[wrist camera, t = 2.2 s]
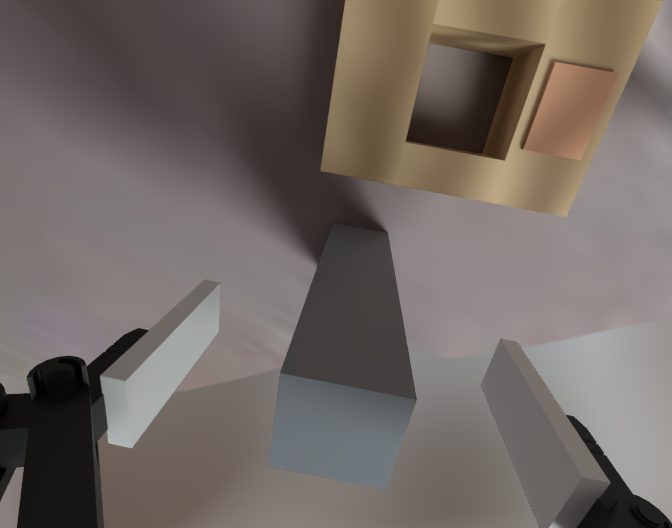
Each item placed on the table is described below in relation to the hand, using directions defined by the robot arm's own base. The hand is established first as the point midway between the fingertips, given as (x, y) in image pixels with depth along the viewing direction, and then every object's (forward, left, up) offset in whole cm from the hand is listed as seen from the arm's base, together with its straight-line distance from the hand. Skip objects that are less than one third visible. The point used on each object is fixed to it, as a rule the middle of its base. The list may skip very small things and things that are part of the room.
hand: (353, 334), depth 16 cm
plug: (0, 0, -10) cm, 10 cm away
